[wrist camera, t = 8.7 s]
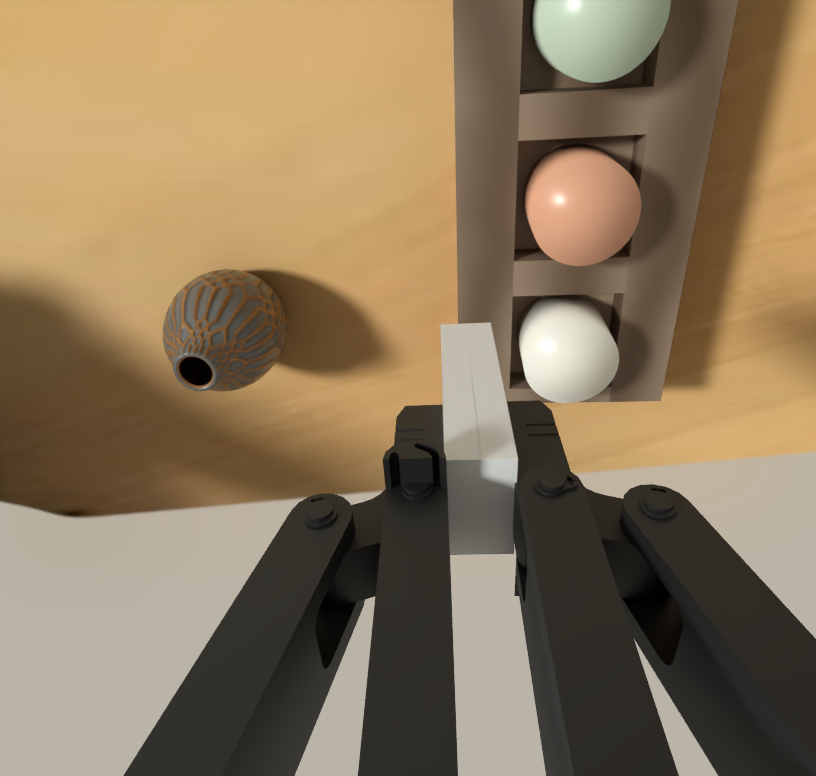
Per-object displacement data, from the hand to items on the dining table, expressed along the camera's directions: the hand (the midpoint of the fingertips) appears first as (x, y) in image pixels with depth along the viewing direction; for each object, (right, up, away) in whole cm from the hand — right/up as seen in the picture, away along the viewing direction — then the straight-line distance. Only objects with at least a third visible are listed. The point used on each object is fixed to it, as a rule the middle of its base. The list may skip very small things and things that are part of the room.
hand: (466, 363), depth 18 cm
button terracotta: (+7, +9, +13) cm, 17 cm away
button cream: (+7, +3, +17) cm, 19 cm away
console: (+7, +11, +15) cm, 20 cm away
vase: (-13, +5, +21) cm, 25 cm away
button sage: (+6, +16, +9) cm, 19 cm away
